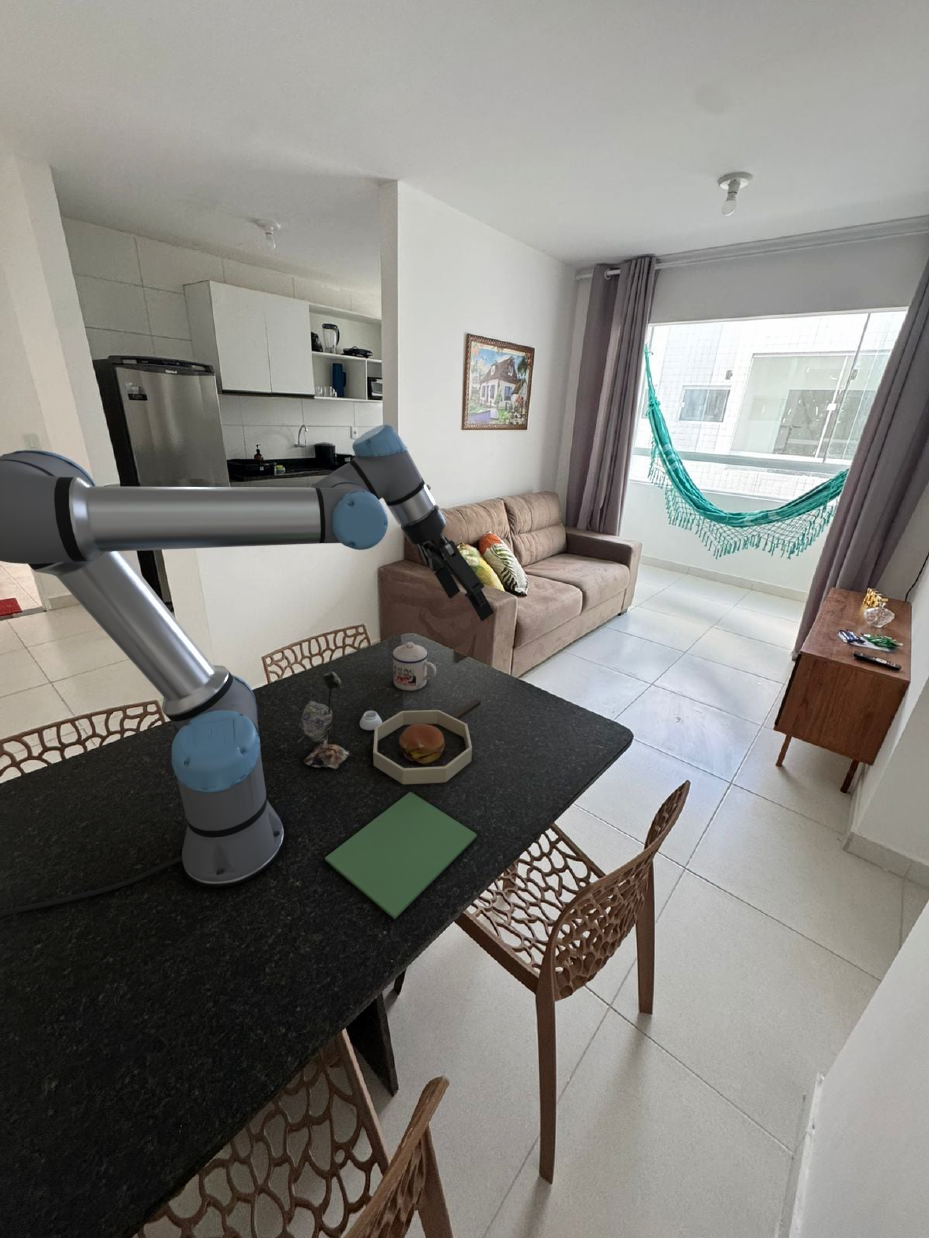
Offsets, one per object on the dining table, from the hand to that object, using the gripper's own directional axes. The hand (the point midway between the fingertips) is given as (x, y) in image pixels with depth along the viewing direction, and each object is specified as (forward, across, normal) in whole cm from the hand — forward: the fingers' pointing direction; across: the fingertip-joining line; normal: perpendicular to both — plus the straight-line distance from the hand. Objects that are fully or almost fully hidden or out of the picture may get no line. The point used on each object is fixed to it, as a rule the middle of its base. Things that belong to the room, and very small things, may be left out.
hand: (470, 604), depth 100 cm
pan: (+25, +4, +21) cm, 33 cm away
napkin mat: (+17, -20, +36) cm, 45 cm away
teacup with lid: (+27, +28, +17) cm, 42 cm away
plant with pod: (+13, +9, +42) cm, 45 cm away
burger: (+23, +2, +25) cm, 34 cm away
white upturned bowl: (+19, +15, +31) cm, 39 cm away
